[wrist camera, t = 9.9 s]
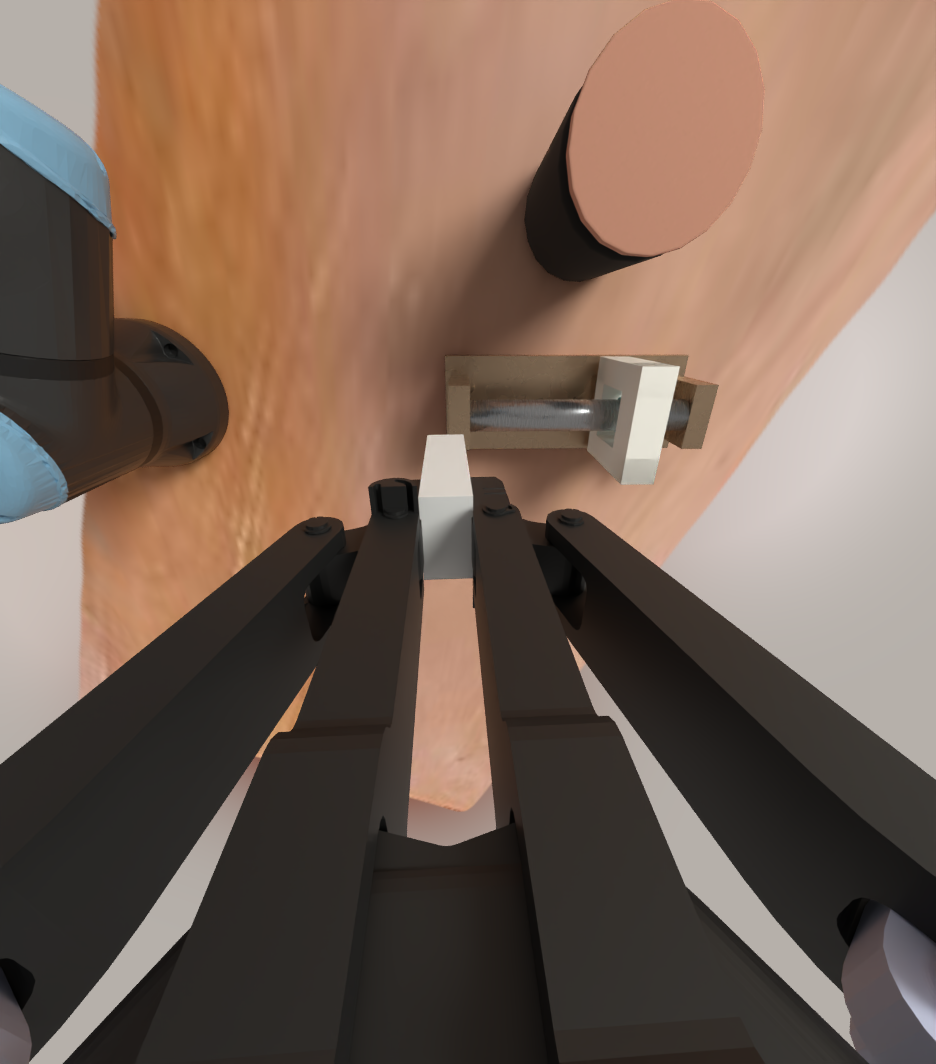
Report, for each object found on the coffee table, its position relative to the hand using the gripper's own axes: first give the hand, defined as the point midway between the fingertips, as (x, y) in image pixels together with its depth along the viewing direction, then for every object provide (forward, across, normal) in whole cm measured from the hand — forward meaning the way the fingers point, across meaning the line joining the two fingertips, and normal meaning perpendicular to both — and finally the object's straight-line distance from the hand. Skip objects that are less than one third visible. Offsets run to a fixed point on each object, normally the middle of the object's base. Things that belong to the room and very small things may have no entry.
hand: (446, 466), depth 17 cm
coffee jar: (+31, +13, +14) cm, 36 cm away
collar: (+28, +18, -3) cm, 33 cm away
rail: (+30, +13, -3) cm, 33 cm away
